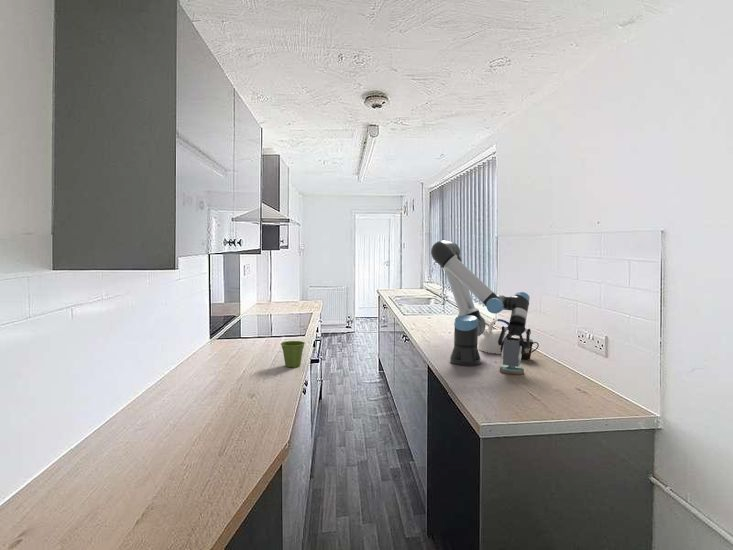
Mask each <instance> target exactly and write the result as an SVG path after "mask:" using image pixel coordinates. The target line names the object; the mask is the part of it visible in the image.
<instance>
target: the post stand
mask: <svg viewBox="0 0 733 550" xmlns="http://www.w3.org/2000/svg"><path fill="white" fill-rule="evenodd" d="M499 373H501V374H505V375H508V376H509V375H511V376H521V375H524V374H525V368H523V367H521V366H519V367H516V366H509V365H500V366H499Z"/></svg>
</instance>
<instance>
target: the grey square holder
mask: <svg viewBox="0 0 733 550" xmlns="http://www.w3.org/2000/svg"><path fill="white" fill-rule="evenodd" d="M521 340H522V339H520V337H506V338H505V339H504V348H503V359H502V366H504V365H509V366H516V367H520V366H521V364H522V360H521V361H519V359H518V357H519V351H520V346H522V344H521Z"/></svg>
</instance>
